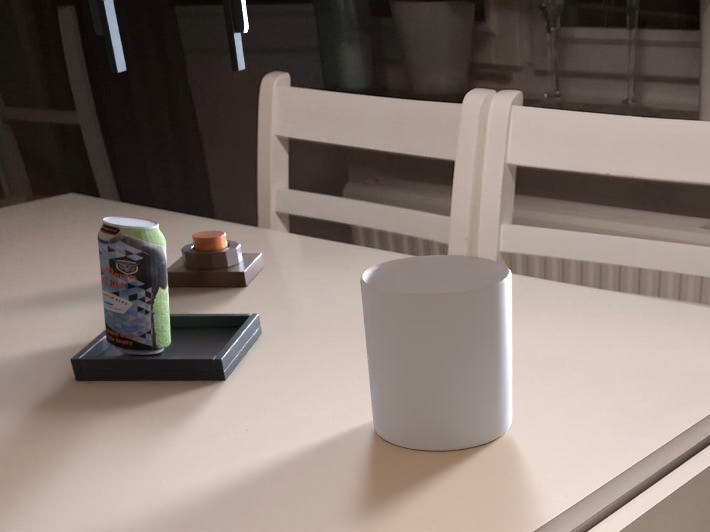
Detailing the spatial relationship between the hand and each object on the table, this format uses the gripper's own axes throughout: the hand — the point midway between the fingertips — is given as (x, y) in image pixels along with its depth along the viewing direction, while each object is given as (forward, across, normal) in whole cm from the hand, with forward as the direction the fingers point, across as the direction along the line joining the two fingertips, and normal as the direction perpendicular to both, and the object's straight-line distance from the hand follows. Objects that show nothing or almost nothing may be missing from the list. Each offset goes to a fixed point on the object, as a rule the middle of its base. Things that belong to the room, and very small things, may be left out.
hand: (178, 71), depth 111 cm
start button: (+18, 0, 0) cm, 18 cm away
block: (+22, 0, 0) cm, 22 cm away
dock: (+22, -4, +30) cm, 37 cm away
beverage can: (+21, -2, +31) cm, 37 cm away
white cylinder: (+22, -33, +47) cm, 62 cm away
